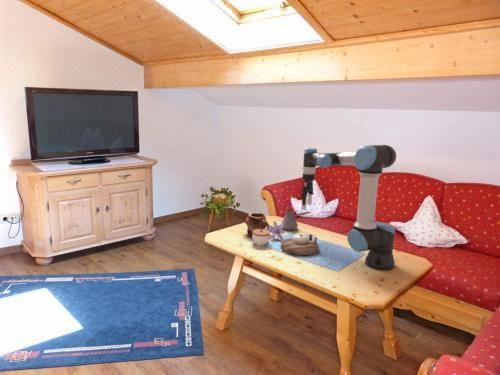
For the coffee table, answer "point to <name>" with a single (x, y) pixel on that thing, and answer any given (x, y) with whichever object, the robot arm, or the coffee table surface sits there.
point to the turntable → (300, 247)
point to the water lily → (276, 231)
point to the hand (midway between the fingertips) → (306, 207)
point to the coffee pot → (291, 220)
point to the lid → (300, 238)
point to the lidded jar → (260, 236)
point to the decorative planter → (256, 222)
